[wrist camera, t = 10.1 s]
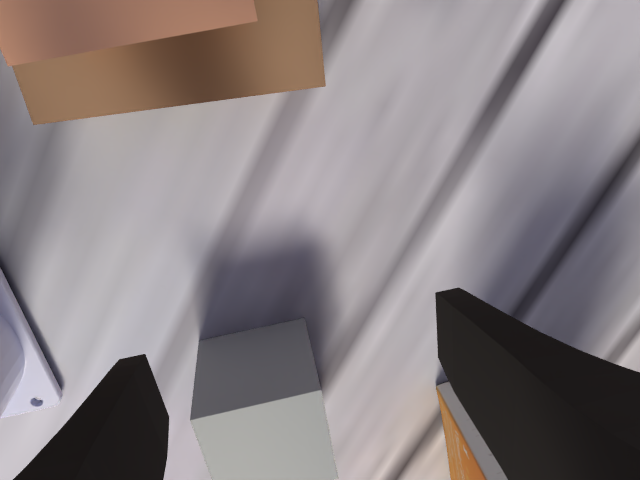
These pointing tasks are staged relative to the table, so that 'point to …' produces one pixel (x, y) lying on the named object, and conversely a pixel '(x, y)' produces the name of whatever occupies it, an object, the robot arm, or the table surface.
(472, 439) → the small box
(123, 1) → the terracotta block
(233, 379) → the slate grey block
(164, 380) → the table surface
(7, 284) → the robot arm
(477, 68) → the table surface
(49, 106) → the tan square block
